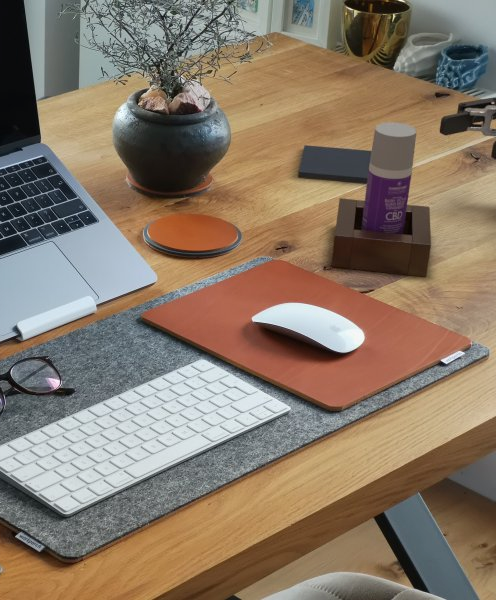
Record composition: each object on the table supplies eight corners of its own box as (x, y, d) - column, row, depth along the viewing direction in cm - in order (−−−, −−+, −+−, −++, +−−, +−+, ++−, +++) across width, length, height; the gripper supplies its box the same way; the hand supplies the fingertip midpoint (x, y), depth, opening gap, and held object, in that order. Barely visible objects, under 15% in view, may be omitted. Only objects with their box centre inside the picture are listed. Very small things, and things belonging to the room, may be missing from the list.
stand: (424, 237, 133) (429, 206, 131) (425, 277, 124) (431, 244, 122) (336, 228, 135) (339, 198, 133) (331, 266, 126) (334, 235, 124)
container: (383, 264, 126) (400, 140, 119) (350, 250, 129) (365, 128, 122) (408, 252, 129) (426, 130, 122) (374, 239, 132) (390, 118, 125)
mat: (376, 156, 155) (377, 151, 154) (374, 184, 146) (375, 178, 146) (303, 150, 157) (304, 145, 157) (298, 177, 148) (298, 171, 148)
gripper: (532, 69, 138) (430, 88, 131) (626, 104, 126) (519, 127, 120) (521, 126, 141) (421, 148, 135) (611, 165, 130) (507, 191, 124)
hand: (467, 138), depth 128 cm, fingers open, 8 cm apart
